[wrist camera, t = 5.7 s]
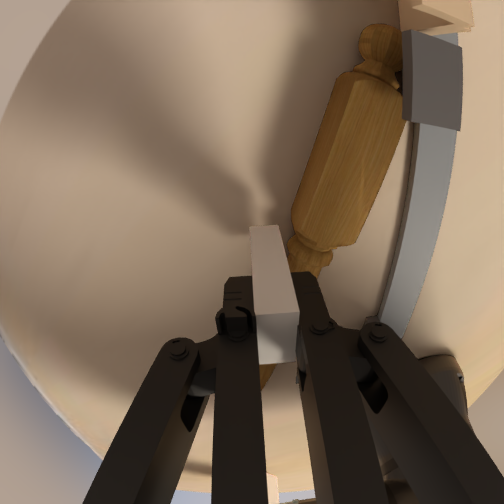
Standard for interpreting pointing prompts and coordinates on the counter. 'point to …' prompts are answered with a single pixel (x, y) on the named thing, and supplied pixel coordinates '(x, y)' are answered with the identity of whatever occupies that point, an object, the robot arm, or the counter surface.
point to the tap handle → (348, 156)
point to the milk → (272, 489)
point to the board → (425, 142)
